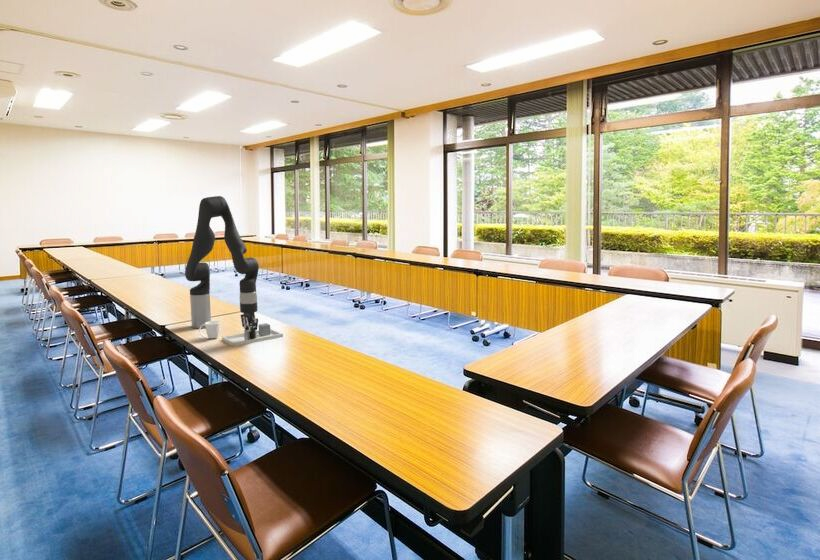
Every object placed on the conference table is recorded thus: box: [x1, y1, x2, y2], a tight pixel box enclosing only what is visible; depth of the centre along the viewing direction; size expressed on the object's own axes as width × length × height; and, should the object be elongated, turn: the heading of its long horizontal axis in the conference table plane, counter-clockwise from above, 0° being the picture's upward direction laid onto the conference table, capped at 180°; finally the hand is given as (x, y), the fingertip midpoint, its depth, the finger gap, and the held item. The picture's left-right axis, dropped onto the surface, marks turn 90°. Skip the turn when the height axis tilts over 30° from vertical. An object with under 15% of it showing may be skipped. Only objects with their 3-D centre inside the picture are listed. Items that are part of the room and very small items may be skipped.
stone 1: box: [243, 329, 257, 340], centre depth 214 cm, size 4×4×5 cm
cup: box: [198, 320, 221, 339], centre depth 217 cm, size 7×10×8 cm
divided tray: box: [221, 328, 284, 347], centre depth 219 cm, size 13×24×2 cm, turn 133°
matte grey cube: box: [258, 322, 271, 336], centre depth 225 cm, size 4×4×5 cm
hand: (250, 337), depth 214 cm, fingers closed on stone 1, 4 cm apart
